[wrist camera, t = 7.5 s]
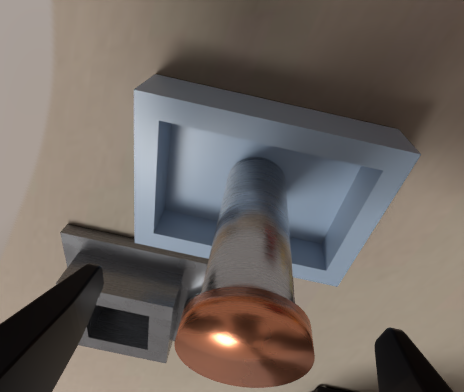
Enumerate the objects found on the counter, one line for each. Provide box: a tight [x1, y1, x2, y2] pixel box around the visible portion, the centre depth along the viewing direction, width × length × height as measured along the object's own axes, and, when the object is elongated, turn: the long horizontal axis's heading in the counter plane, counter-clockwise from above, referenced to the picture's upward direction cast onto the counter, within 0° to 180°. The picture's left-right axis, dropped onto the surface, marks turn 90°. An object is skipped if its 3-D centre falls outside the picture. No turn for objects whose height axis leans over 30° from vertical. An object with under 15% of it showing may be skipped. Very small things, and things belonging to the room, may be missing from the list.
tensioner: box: [56, 224, 209, 363], centre depth 21 cm, size 14×10×3 cm
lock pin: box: [175, 157, 314, 388], centre depth 12 cm, size 4×4×9 cm
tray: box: [134, 74, 421, 287], centre depth 15 cm, size 11×8×2 cm
